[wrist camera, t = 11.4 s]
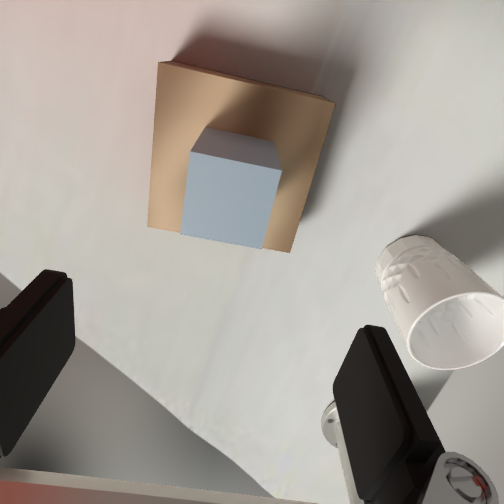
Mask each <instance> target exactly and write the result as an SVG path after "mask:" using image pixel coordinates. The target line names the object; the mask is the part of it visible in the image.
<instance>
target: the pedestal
mask: <svg viewBox="0 0 504 504" xmlns="http://www.w3.org/2000/svg"><path fill="white" fill-rule="evenodd" d="M334 108H335V103H334V102H332V101H330V100H329V99H327V98H325V97H322V96H318V95H314V94H309V93H305V92H301V91H297V90H292V89H288V88H284V87H280V86H275V85H271V84H267V83H263V82H258V81H254V80H250V79H245V78H241V77H237V76H233V75H228V74H224V73H220V72H216V71H211V70H207V69H203V68H199V67H194V66H190V65H186V64H182V63H177V62H173V61H165V62H158V74H157V88H156V103H155V118H154V133H153V148H152V163H151V178H150V193H149V208H148V223H147V227H151V228H157V229H162V230H167V231H173V232H178V233H180V230H181V222H182V214H183V205H184V197H185V189H186V180H187V172H188V164H189V155H190V151H191V149H192V147H193V146H194V144H195V142H196V141H197V139H198V138H199V136H200V134H201V133H202V131H203V129H204V128H205V127H209V128H213V129H218V130H222V131H227V132H232V133H236V134H241V135H245V136H250V137H255V138H259V139H264V140H268V141H273V142H275V146H276V150H277V154H278V157H279V161H280V165H281V169H282V173H281V176H280V180H279V184H278V188H277V192H276V196H275V200H274V203H273V207H272V211H271V215H270V219H269V223H268V227H267V231H266V234H265V238H264V242H263V246H262V248H266V249H271V250H276V251H282V252H287V253H290V251H291V248H292V245H293V241H294V238H295V235H296V231H297V228H298V225H299V222H300V218H301V215H302V212H303V209H304V205H305V202H306V199H307V196H308V192H309V189H310V186H311V183H312V179H313V176H314V173H315V170H316V166H317V163H318V160H319V157H320V153H321V150H322V147H323V143H324V140H325V137H326V134H327V130H328V127H329V124H330V121H331V117H332V114H333V111H334Z"/></svg>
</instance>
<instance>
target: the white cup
mask: <svg viewBox="0 0 504 504" xmlns="http://www.w3.org/2000/svg"><path fill="white" fill-rule="evenodd" d="M375 274H376V276H377V278H378V281H379V283H380V286H381V288H382V290H383V295H384V297H385V299H386V302H387V305H388V307H389V309H390V311H391V314H392V317H393V319H394V321H395V323H396V325H397V327H398V329H399V331H400V333H401V336H402V338H403V340H404V342H405V344H406V346H407V349H408V351H409V353H410V355H411V356H412V357H413V359H414V360H415V361H417V362H418V363H419V364H421V365H423V366H425V367H428V368H432V369H437V370H455V369H461V368H466V367H469V366H472V365H475V364H477V363H480V362H482V361H484V360H486V359H487V358H489V357H491V356H492V355H494V354H495V353H496V352H498V351H499V350H500V349H501V348H502V347H503V346H504V298H503V297H502V296H501V295H500V294H499V293H498V292H497V291H495V290H494V289H493V288H492V287H491V286H490V285H488V284H487V283H486V282H485V281H484V280H483V279H482V278H481V277H479V276H478V275H477V274H476V273H475V272H474V271H473V270H472V269H470V268H469V267H468V266H466V265H465V264H464V263H463V262H462V261H461V260H459V259H458V258H457V257H456V256H454V255H453V254H452V253H450V252H448V251H447V250H445V249H444V248H443V247H442V246H441V245H439V244H438V243H437V242H436V241H435V240H433V239H432V238H430V237H425V236H419V235H413V236H409V237H404V238H400V239H398V240H397V241H395V242H394V243H392V244H390V245H389V246H387V247H386V248H385V249H384V251H383V252H382V254H381V255H380V256H379V258H378V259H377V264H376V270H375Z"/></svg>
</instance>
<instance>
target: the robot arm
mask: <svg viewBox="0 0 504 504" xmlns="http://www.w3.org/2000/svg"><path fill="white" fill-rule="evenodd" d="M74 347H75V324H74V303H73V282H72V279H71V278H67V274H66V273H64V272H59V271H53V270H47V269H46V270H43V271H42V272H41V273H40V274H39V275H38V276H37V277H36V278H35V279H34V280H33V281H32V282H31V283H30V284H29V285H28V286H27V287H26V288H25V289H24V290H23V291H22V292H21V293H20V294H19V295H18V296H17V297H16V298H15V299H14V300H13V301H12V302H11V303H10V304H9V305H8V306H7V307H4V308H1V309H0V458H1V456H4V457H5V456H7V455H8V454H9V453H10V452H11V451H12V449H13V448H14V446H15V445H16V443H17V441H18V440H19V438H20V436H21V435H22V433H23V432H24V430H25V428H26V427H27V425H28V424H29V422H30V420H31V418H32V417H33V416H34V414H35V412H36V411H37V409H38V407H39V406H40V404H41V403H42V401H43V399H44V398H45V396H46V395H47V393H48V391H49V390H50V388H51V386H52V384H53V383H54V381H55V380H56V378H57V377H58V375H59V374H60V372H61V370H62V368H63V367H64V366H65V364H66V362H67V361H68V359H69V357H70V356H71V354H72V352H73V350H74ZM333 394H334V399H335V402H333V403H332V404H331V405H330V406H329V407H328V408H327V409H326V411H325V412H324V414H323V416H322V420H321V426H322V431H323V435H324V437H325V438H326V440H327V441H328V442H329V443H330V444H331V445H333V446H334V447H336V448H338V451H339V455H340V460H341V464H342V469H343V473H344V478H345V482H346V487H347V491H348V496H349V500H350V504H499V501H498V494H497V491H496V488H495V486H494V484H493V483H492V481H491V480H490V478H489V476H488V475H487V474H486V473H485V472H484V471H483V470H482V469H481V467H479V466H478V465H477V464H476V463H474V462H473V461H472V460H471V459H469V458H467V457H465V456H464V455H461V454H458V453H455V452H445V450H444V448H443V446H442V443H441V441H440V439H439V437H438V435H437V433H436V431H435V429H434V427H433V425H432V423H431V421H430V419H429V417H428V415H427V413H426V411H425V409H424V406H423V404H422V402H421V400H420V398H419V396H418V394H417V392H416V390H415V388H414V386H413V384H412V382H411V380H410V378H409V376H408V374H407V372H406V370H405V368H404V366H403V364H402V362H401V359H400V357H399V355H398V353H397V351H396V349H395V347H394V345H393V343H392V341H391V339H390V337H389V335H388V333H387V331H386V329H385V328H383V327H378V326H373V325H366V326H364V328H360V329H359V330H358V332H357V334H356V336H355V338H354V340H353V342H352V344H351V346H350V349H349V351H348V353H347V355H346V357H345V359H344V361H343V363H342V366H341V368H340V370H339V372H338V374H337V376H336V378H335V380H334V383H333ZM0 504H316V503H308V502H300V501H292V500H284V499H276V498H268V497H260V496H251V495H243V494H235V493H226V492H218V491H210V490H201V489H192V488H184V487H176V486H167V485H158V484H150V483H141V482H132V481H124V480H114V479H105V478H96V477H88V476H79V475H70V474H61V473H53V472H42V471H32V470H20V469H10V468H0Z"/></svg>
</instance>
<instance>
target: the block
mask: <svg viewBox="0 0 504 504" xmlns="http://www.w3.org/2000/svg"><path fill="white" fill-rule="evenodd" d="M281 173H282V169H281V165H280V161H279V157H278V154H277V150H276V146H275V142H273V141H268V140H264V139H259V138H255V137H250V136H245V135H241V134H236V133H232V132H227V131H222V130H218V129H213V128H209V127H205V128H204V129H203V131H202V133H201V134H200V136H199V138H198V139H197V141H196V142H195V144H194V146H193V147H192V149H191V151H190V155H189V164H188V172H187V180H186V189H185V197H184V205H183V214H182V222H181V230H180V234H181V235H187V236H192V237H198V238H203V239H208V240H214V241H219V242H225V243H230V244H236V245H241V246H247V247H252V248H258V249H262V246H263V242H264V238H265V234H266V231H267V227H268V223H269V219H270V215H271V211H272V207H273V203H274V200H275V196H276V192H277V188H278V184H279V180H280V176H281Z"/></svg>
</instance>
